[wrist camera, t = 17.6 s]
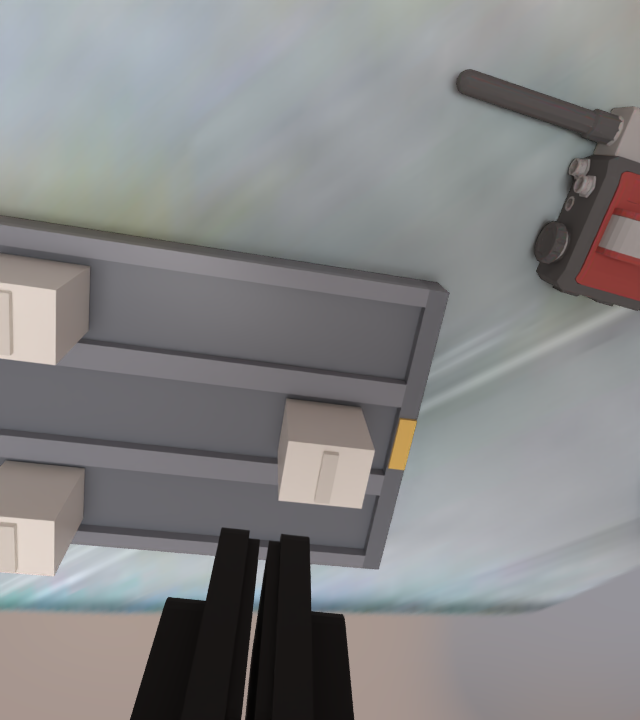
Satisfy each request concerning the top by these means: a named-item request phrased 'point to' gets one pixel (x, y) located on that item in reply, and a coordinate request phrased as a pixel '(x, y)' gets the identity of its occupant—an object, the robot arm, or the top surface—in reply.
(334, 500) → the tab
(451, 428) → the top surface
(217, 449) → the switch board
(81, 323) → the tab
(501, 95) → the walkie-talkie
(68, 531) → the tab
